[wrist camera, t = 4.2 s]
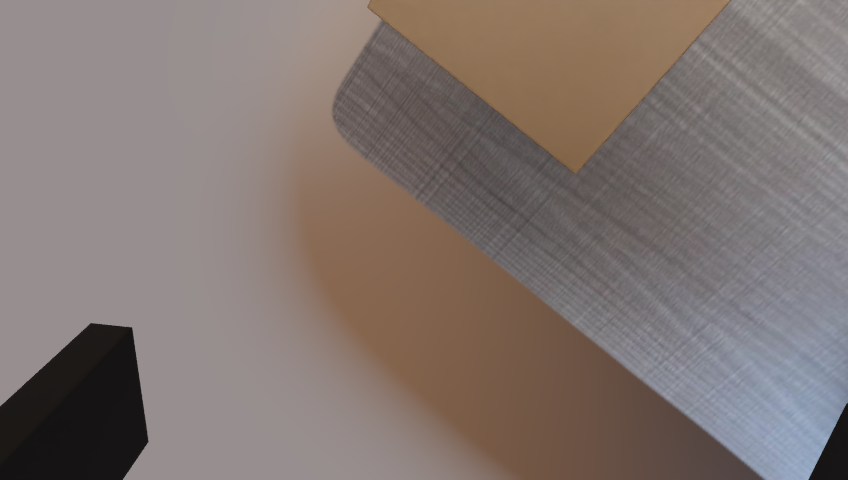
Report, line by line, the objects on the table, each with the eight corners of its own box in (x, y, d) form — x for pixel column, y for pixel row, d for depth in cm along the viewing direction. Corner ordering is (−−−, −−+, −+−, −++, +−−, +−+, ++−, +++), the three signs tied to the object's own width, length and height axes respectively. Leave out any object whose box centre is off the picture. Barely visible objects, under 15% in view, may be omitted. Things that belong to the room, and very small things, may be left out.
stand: (455, 23, 35) (366, 7, 21) (539, -100, 32) (500, -217, 18) (581, 123, 35) (575, 175, 21) (678, 10, 32) (748, -20, 18)
